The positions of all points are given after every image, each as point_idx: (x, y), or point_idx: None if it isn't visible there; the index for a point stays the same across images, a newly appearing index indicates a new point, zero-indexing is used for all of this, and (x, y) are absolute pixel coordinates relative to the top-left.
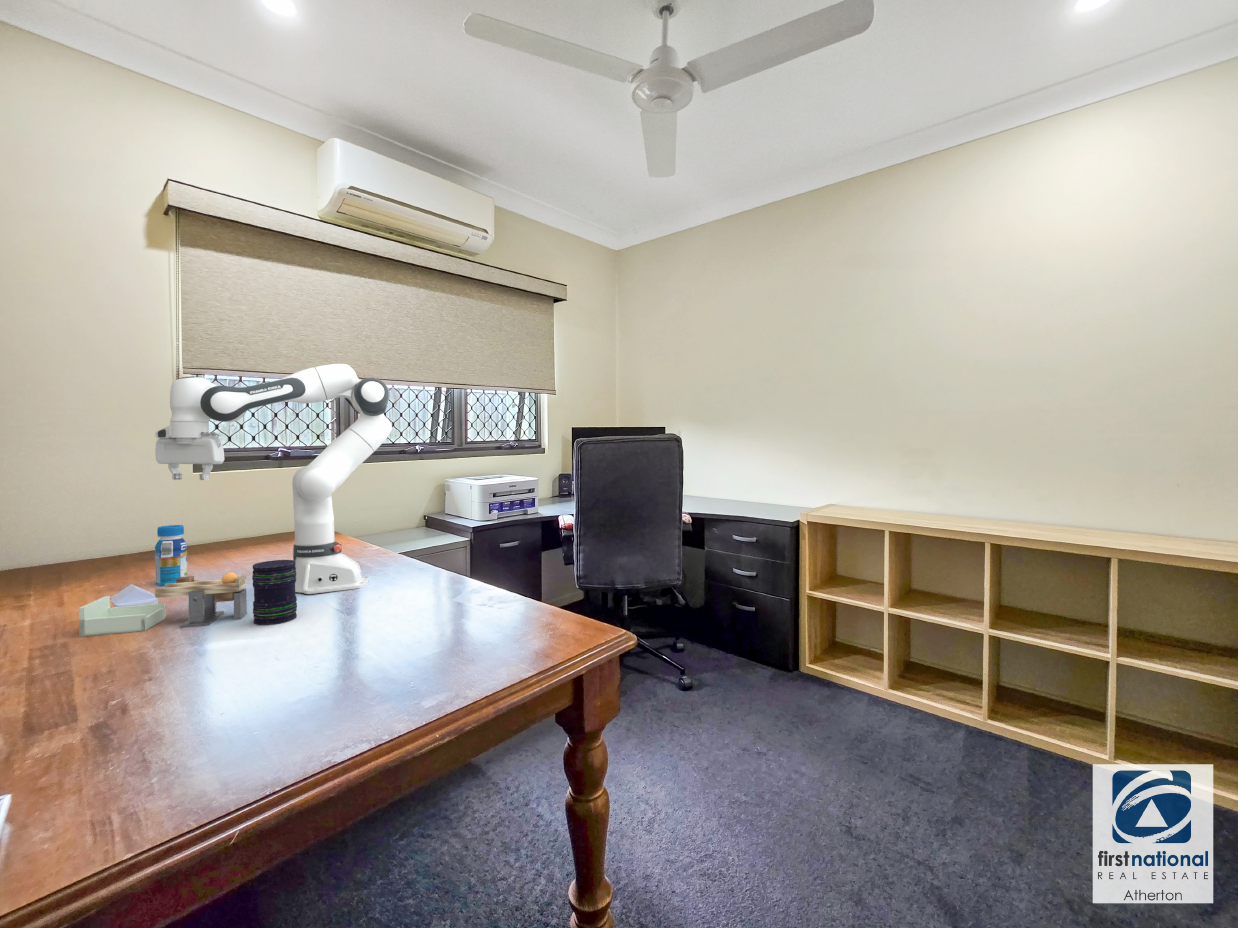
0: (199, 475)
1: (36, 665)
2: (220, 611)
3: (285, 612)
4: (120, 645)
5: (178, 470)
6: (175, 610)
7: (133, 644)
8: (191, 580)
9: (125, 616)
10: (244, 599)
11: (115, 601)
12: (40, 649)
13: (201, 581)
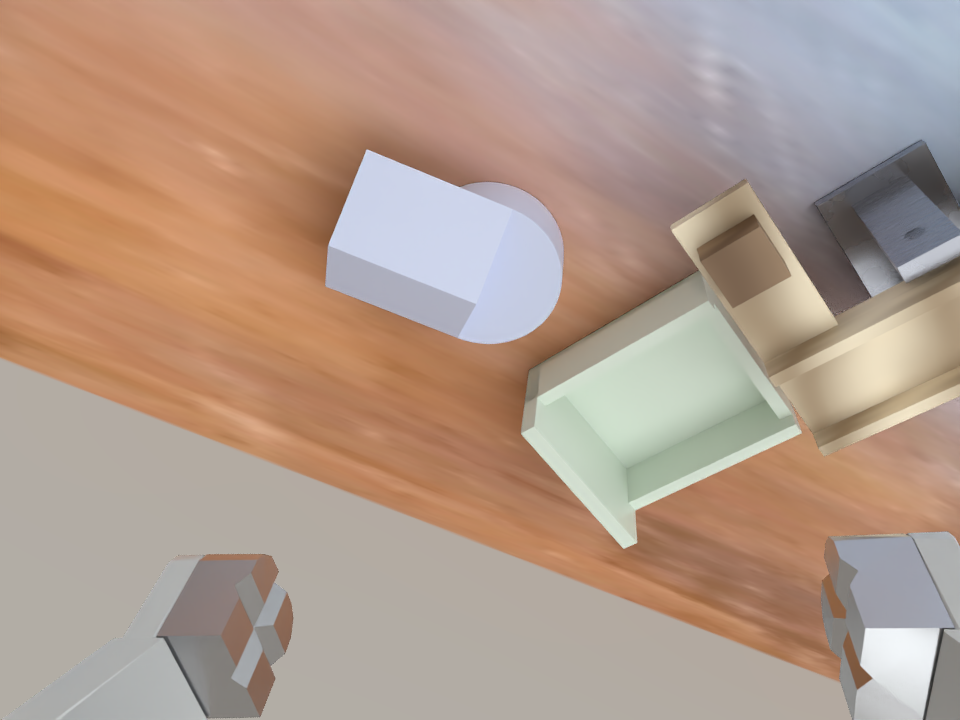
0: (843, 691)
1: (781, 624)
2: (914, 157)
3: None
4: (858, 501)
5: (95, 689)
6: (620, 176)
7: (895, 488)
8: (775, 248)
9: (743, 459)
10: None
11: (425, 321)
12: (640, 559)
13: (927, 301)
